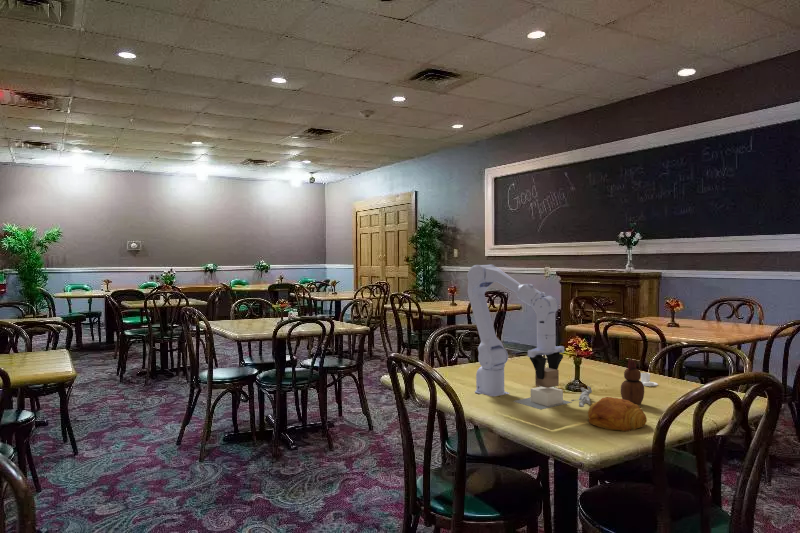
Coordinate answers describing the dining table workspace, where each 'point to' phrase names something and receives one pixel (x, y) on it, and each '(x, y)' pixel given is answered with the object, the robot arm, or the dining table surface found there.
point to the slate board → (539, 406)
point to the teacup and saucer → (647, 380)
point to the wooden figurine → (632, 384)
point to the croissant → (616, 414)
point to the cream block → (546, 395)
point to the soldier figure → (584, 396)
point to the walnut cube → (548, 378)
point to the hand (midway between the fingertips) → (546, 377)
